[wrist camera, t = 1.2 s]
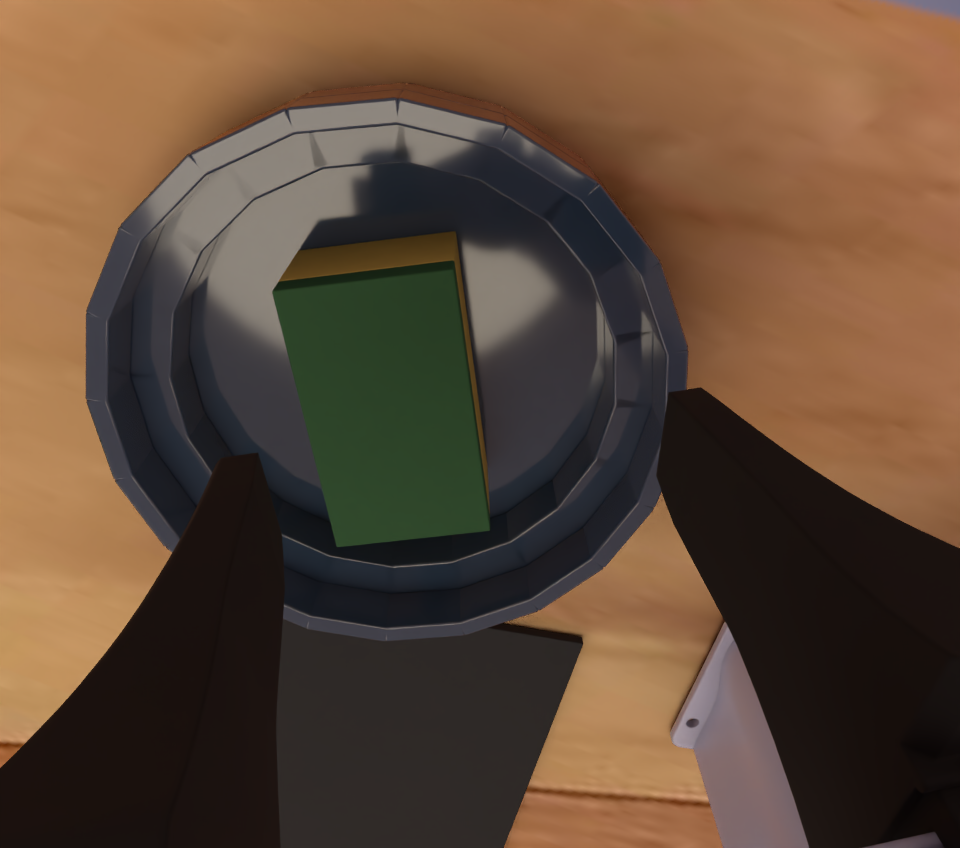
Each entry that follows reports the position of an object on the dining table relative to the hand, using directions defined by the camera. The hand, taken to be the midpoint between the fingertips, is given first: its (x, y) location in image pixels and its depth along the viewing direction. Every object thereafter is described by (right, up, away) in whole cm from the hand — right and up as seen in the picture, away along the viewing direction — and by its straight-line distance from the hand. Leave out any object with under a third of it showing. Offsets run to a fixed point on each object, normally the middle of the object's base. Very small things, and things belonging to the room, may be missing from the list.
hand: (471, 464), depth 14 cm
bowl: (-2, +3, +11) cm, 12 cm away
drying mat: (-5, -15, +21) cm, 26 cm away
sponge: (-2, +2, +11) cm, 11 cm away
